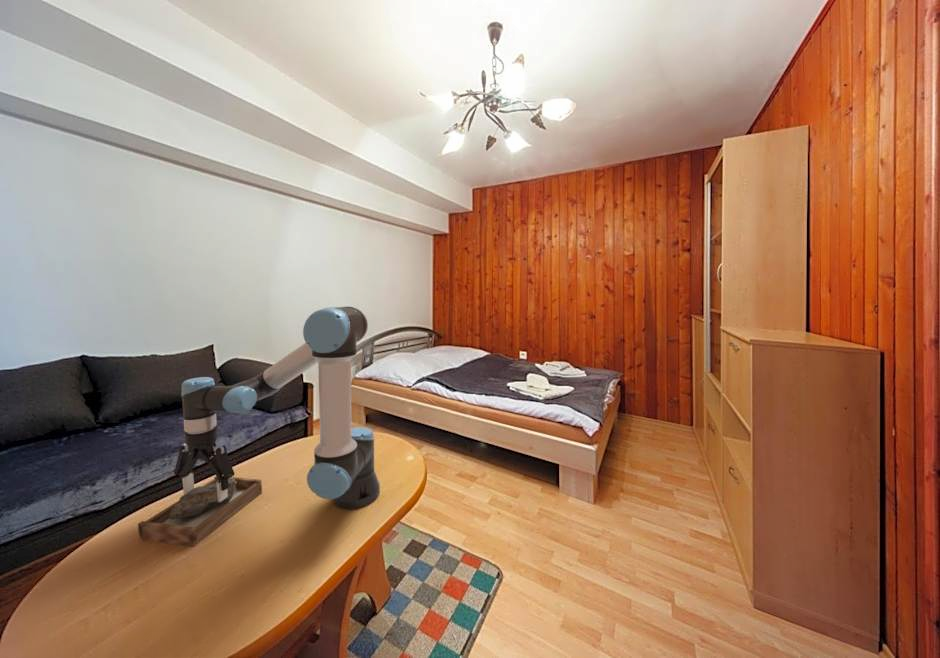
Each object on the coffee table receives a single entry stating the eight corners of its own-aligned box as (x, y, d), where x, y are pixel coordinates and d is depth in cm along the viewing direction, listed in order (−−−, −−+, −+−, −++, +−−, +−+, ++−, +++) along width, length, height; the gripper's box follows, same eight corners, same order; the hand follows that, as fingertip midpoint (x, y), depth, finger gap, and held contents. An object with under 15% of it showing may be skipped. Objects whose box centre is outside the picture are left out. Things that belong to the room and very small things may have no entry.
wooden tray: (262, 493, 110) (261, 479, 110) (193, 546, 87) (192, 530, 86) (217, 488, 112) (217, 475, 112) (139, 539, 89) (138, 523, 88)
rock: (231, 474, 109) (242, 476, 103) (233, 494, 109) (244, 498, 103) (162, 497, 95) (171, 501, 89) (164, 520, 95) (173, 526, 89)
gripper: (246, 426, 99) (250, 493, 101) (179, 421, 102) (184, 486, 104) (225, 437, 92) (229, 509, 94) (153, 431, 95) (159, 501, 97)
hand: (206, 497), depth 99 cm, fingers closed on rock, 11 cm apart
